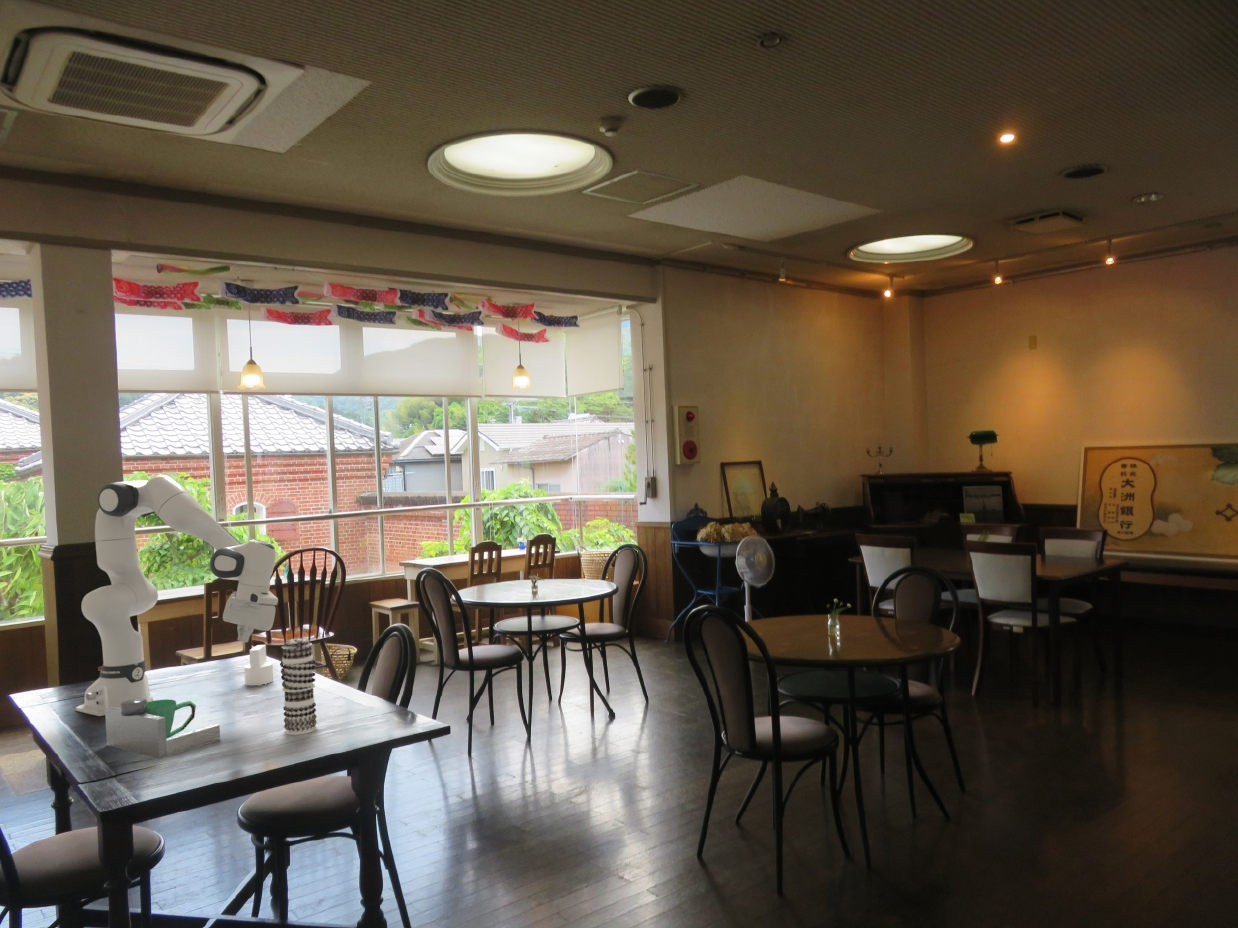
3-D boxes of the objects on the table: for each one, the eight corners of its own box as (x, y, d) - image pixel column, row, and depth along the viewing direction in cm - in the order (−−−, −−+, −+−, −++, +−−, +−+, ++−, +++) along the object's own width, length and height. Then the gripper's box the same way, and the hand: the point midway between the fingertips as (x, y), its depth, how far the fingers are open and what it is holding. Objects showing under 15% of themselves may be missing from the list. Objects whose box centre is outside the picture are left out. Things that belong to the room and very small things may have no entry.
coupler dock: (167, 727, 257) (165, 682, 257) (220, 739, 244) (218, 691, 244) (99, 747, 241) (96, 698, 241) (151, 761, 228) (149, 709, 228)
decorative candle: (303, 736, 244) (299, 643, 244) (275, 733, 247) (271, 642, 247) (325, 726, 253) (321, 637, 252) (298, 724, 256) (294, 636, 256)
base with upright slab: (249, 680, 313) (248, 645, 313) (276, 678, 314) (274, 643, 314) (241, 686, 304) (240, 651, 304) (269, 684, 305) (267, 649, 305)
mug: (137, 749, 239) (135, 711, 239) (137, 739, 247) (135, 703, 247) (198, 738, 246) (196, 702, 246) (196, 729, 254) (194, 694, 254)
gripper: (222, 589, 272) (213, 635, 271) (263, 598, 261) (253, 646, 259) (241, 591, 278) (232, 636, 276) (281, 600, 266) (272, 647, 264)
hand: (242, 641), depth 267 cm, fingers closed
